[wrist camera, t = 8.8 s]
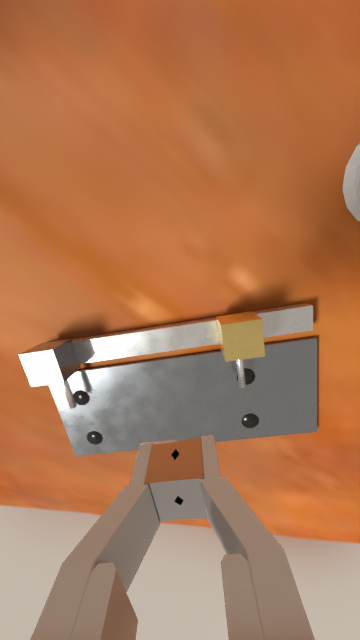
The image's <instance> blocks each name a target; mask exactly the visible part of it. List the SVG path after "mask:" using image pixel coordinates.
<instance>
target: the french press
mask: <svg viewBox="0 0 360 640" xmlns="http://www.w3.org/2000/svg"><path fill="white" fill-rule="evenodd" d="M342 189H343V194H344V198H345V203H346V207H347V208H348V210H349V211H350V212H351V213H352V215H353V216H354V217H355V218H356V220H357V221H359V222H360V143H359V144H358V145H357V147H356V148H355V150H354V152H353V154H352V156H351V158H350V160H349V162H348V164H347V166H346V169H345V175H344V181H343V188H342Z"/></svg>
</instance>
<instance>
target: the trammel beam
mask: <svg viewBox="0 0 360 640" xmlns="http://www.w3.org/2000/svg"><path fill="white" fill-rule="evenodd" d="M252 312H253V313H254V314H256V315H257V316H259V317H260V318H262V320H263V334H264V337H270V336H277V335H284V334H291V333H298V332H305V331H312V330H313V305H310V304H307V303H303V304H296V305H290V306H283V307H277V308H271V309H264V310H258V311H252ZM214 344H220V342H219V335H218V327H217V319H216V317H212V318H206V319H200V320H193V321H187V322H180V323H174V324H167V325H161V326H154V327H148V328H142V329H135V330H129V331H122V332H116V333H109V334H103V335H96V336H90V337H83V338H77V339H65V340H59V341H53V342H46V343H41V344H39V345H37V346H35V347H33V348H31V349H29V350H27V351H25V352H23V353H21V354H19V357H20V360H21V362H22V365H23V367H24V370H25V372H26V375H27V377H28V380H29V382H30V384H31V387H34V386H41V385H49V384H56V383H61V385H62V387H63V390H64V393H65V396H66V398H67V401H68V404H69V407H70V409H74V408H75V407H76V406H77V405H76V402H75V399H74V396H73V393H72V390H71V388H70V385H69V382H68V378H70V377H71V376H72V375H73V374H74V373H75V372H76V371H77V370H78V369H79V368H80V364H82V363H89V362H96V361H103V360H110V359H117V358H124V357H131V356H138V355H145V354H152V353H159V352H166V351H172V350H179V349H186V348H193V347H200V346H207V345H214Z"/></svg>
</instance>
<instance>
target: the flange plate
mask: <svg viewBox="0 0 360 640" xmlns="http://www.w3.org/2000/svg"><path fill="white" fill-rule="evenodd" d="M264 349H265V357H258V358H251V359H243V363H244V372H245V382H246V387H245V388H240V387H239V381H238V372H237V363H236V361H228V362H225V359H224V357H223V354H222V352H221V350H216V351H209V352H202V353H195V354H188V355H181V356H174V357H167V358H160V359H152V360H145V361H138V362H131V363H124V364H117V365H110V366H103V367H96V368H88V369H81V370H77V371H76V372H75V373H74V374H73V375H72V376H71V377H70V378H68V382H69V385H70V388H71V390H72V393H73V396H74V399H75V402H76V405H77V406H76V407H75V408H74V409H70V407H69V404H68V401H67V398H66V396H65V393H64V390H63V387H62V385H61V383H56V384H49V387H50V390H51V393H52V395H53V398H54V400H55V403H56V406H57V408H58V411H59V414H60V416H61V419H62V421H63V424H64V427H65V429H66V432H67V435H68V437H69V440H70V442H71V445H72V448H73V450H74V453H75V456H81V455H91V454H101V453H111V452H121V451H130V450H138V449H139V446H140V445H141V443H146V442H155V441H166V440H177V439H183V438H190V437H198V436H207V435H214V439H215V442H219V441H229V440H239V439H249V438H259V437H269V436H278V435H288V434H298V433H308V432H317V338H316V337H309V338H302V339H295V340H288V341H280V342H273V343H266V344H264Z"/></svg>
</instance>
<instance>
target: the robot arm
mask: <svg viewBox="0 0 360 640" xmlns="http://www.w3.org/2000/svg"><path fill="white" fill-rule="evenodd" d="M197 518H208V521H209V522H210V524H211V526H212V528H213V530H214V531H215V533H216V535H217V537H218V539H219V541H220V542H221V544H222V546H223V548H224V550H225V552H226V554H227V555H224V557H223V559H222V561H221V569H222V579H223V588H224V598H225V607H226V617H227V627H228V636H229V640H315V639H314V636H313V633H312V630H311V627H310V625H309V621H308V619H307V615H306V613H305V610H304V607H303V604H302V601H301V598H300V595H299V592H298V589H297V586H296V583H295V580H294V577H293V575H292V572H291V569H290V566H289V563H288V560H287V557H286V554H285V551H284V549H283V548H282V546H281V545H280V544H279V543H278V541H277V540H276V539H275V538H274V537H273V535H272V534H271V533H270V532H269V530H268V529H267V528H266V527H265V526H264V524H263V523H262V522H261V521H260V519H259V518H258V517H257V516H256V514H255V513H254V512H253V511H252V510H251V508H250V507H249V506H248V505H247V503H246V502H245V501H244V500H243V498H242V497H241V496H240V495H239V494H238V492H237V491H236V490H235V489H234V487H233V486H232V485H231V484H230V483H229V481H228V480H227V479H226V478H225V477H221V475H220V469H219V463H218V457H217V451H216V445H215V439H214V435H207V436H198V437H190V438H183V439H177V440H166V441H155V442H146V443H141V445H140V446H139V449H138V453H137V457H136V461H135V465H134V468H133V472H132V476H131V480H130V484H129V486H126V487H124V488H123V490H122V491H121V492H120V493H119V495H118V496H117V497H116V498H115V499H114V501H113V502H112V503H111V504H110V506H109V507H108V508H107V509H106V511H105V512H104V513H103V514H102V515H101V517H100V518H99V519H98V520H97V522H96V523H95V524H94V525H93V527H92V528H91V529H90V530H89V531H88V533H87V534H86V535H85V536H84V538H83V539H82V540H81V541H80V543H79V544H78V545H77V546H76V547H75V549H74V550H73V551H72V552H71V554H70V555H69V556H68V557H67V558H66V560H65V561H64V562H63V563H62V566H61V568H60V570H59V573H58V575H57V577H56V580H55V582H54V585H53V587H52V589H51V592H50V594H49V597H48V599H47V601H46V604H45V606H44V609H43V611H42V614H41V616H40V618H39V621H38V623H37V626H36V628H35V630H34V633H33V635H32V637H31V640H135V639H136V632H137V624H138V620H137V617H136V614H135V612H134V609H133V607H132V605H131V603H130V600H129V598H128V596H127V593H126V592H127V590H128V588H129V586H130V584H131V582H132V580H133V578H134V576H135V574H136V572H137V570H138V568H139V566H140V564H141V562H142V560H143V557H144V556H145V554H146V552H147V550H148V548H149V546H150V544H151V542H152V540H153V537H154V535H155V533H156V531H157V529H158V527H159V525H160V522H164V521H172V520H181V519H197Z"/></svg>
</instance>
